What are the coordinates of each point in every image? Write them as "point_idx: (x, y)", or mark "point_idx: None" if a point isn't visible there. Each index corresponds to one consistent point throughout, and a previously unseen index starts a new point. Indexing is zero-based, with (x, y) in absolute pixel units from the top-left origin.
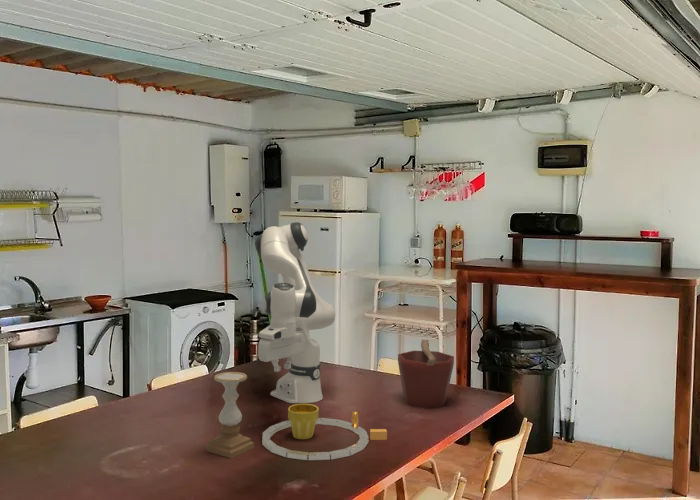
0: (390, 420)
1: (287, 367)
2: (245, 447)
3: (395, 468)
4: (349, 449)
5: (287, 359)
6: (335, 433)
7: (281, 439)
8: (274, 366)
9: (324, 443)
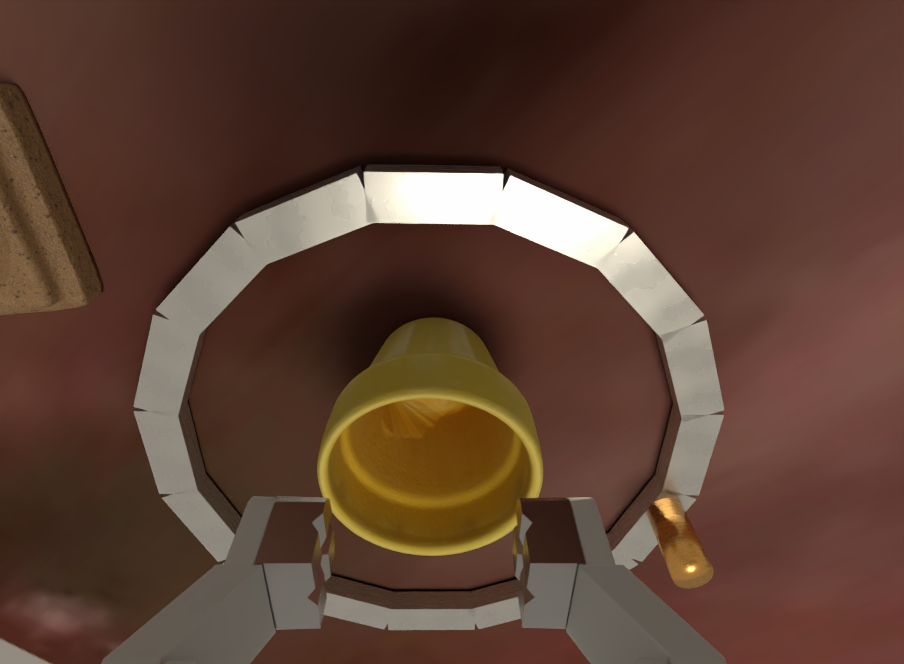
0: (888, 523)
1: (515, 566)
2: (12, 313)
3: None
4: (397, 621)
5: (636, 632)
6: (574, 450)
7: (312, 313)
8: (227, 568)
9: None
